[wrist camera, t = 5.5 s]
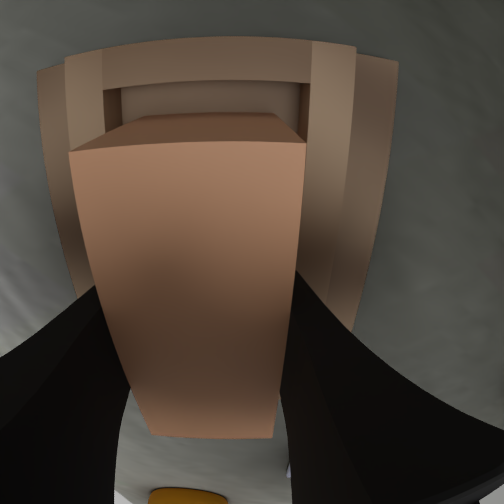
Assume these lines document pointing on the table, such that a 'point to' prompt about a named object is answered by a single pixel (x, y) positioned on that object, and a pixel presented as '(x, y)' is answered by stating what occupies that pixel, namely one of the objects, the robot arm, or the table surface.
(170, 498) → the yellow bottle
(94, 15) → the table surface
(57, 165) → the cradle jig
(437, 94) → the table surface
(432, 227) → the table surface
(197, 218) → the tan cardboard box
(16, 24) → the table surface
